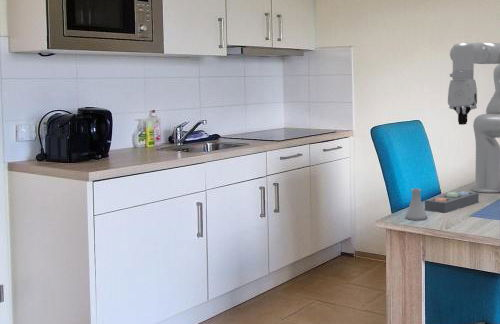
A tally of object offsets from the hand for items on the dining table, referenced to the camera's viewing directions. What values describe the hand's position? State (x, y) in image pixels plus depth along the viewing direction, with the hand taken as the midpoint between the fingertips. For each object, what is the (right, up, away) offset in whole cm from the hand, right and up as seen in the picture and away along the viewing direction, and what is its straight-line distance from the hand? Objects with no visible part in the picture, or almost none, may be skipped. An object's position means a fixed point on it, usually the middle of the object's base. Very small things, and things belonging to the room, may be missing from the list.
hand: (462, 124), depth 237 cm
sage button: (-7, -29, -9) cm, 31 cm away
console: (-7, -31, -9) cm, 33 cm away
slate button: (-1, -29, -4) cm, 29 cm away
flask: (-25, -34, -26) cm, 50 cm away
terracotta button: (-13, -31, -14) cm, 36 cm away
